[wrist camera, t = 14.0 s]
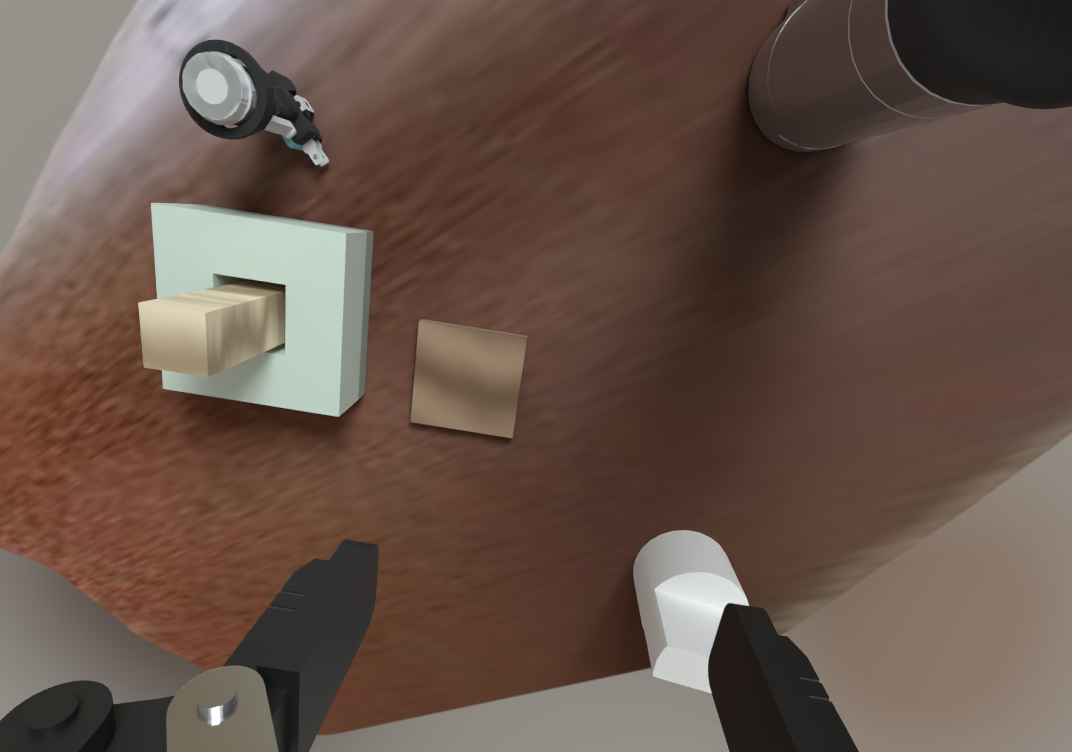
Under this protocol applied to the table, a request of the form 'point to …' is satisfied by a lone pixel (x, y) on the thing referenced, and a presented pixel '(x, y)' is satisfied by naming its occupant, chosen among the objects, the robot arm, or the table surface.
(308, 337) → the socket block
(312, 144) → the push button
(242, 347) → the pin
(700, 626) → the cylinder with rectangular tab
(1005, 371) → the table surface
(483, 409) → the coaster
